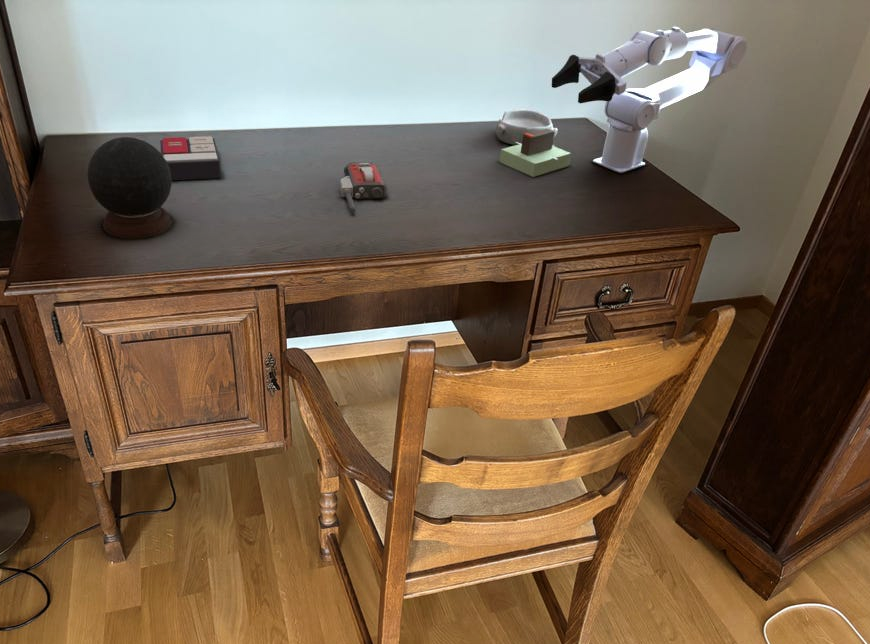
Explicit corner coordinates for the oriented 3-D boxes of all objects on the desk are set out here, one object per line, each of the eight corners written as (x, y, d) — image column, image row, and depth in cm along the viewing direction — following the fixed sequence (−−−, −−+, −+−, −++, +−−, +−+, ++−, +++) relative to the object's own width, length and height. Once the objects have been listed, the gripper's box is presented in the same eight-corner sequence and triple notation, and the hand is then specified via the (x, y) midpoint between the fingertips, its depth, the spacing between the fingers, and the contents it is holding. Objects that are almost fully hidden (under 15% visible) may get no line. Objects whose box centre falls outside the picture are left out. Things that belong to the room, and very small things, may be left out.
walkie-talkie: (334, 174, 153) (347, 216, 138) (334, 154, 151) (347, 194, 135) (376, 174, 155) (393, 215, 139) (377, 153, 153) (394, 193, 137)
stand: (531, 150, 173) (533, 137, 171) (572, 167, 166) (575, 153, 164) (495, 160, 166) (497, 146, 164) (536, 179, 159) (538, 164, 157)
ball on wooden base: (100, 245, 123) (83, 157, 114) (94, 212, 132) (77, 128, 123) (183, 235, 127) (172, 150, 119) (170, 204, 137) (160, 123, 128)
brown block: (544, 146, 167) (547, 127, 165) (551, 149, 166) (555, 130, 163) (520, 152, 163) (523, 133, 160) (527, 155, 161) (530, 136, 159)
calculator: (214, 134, 157) (219, 156, 145) (215, 154, 160) (221, 178, 148) (159, 136, 154) (160, 159, 142) (162, 156, 157) (163, 181, 145)
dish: (496, 146, 173) (499, 125, 170) (491, 127, 185) (493, 106, 182) (557, 150, 174) (561, 129, 171) (548, 130, 185) (552, 110, 182)
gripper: (592, 33, 153) (542, 57, 149) (645, 59, 145) (593, 86, 141) (589, 65, 159) (541, 89, 155) (639, 92, 151) (590, 119, 147)
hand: (565, 90), depth 148 cm, fingers open, 7 cm apart
